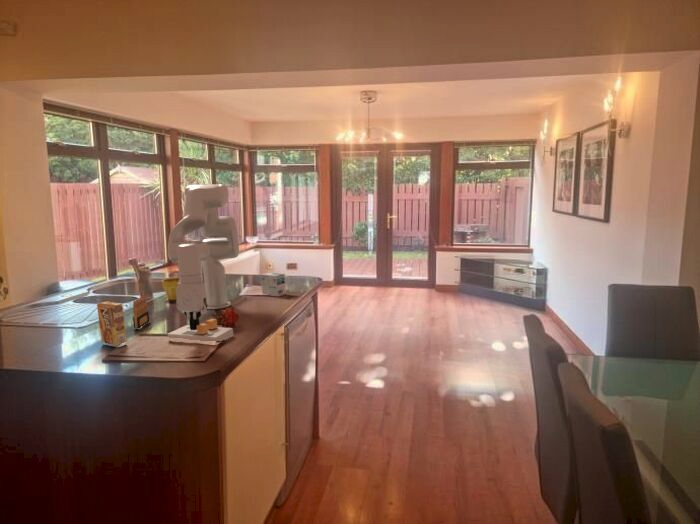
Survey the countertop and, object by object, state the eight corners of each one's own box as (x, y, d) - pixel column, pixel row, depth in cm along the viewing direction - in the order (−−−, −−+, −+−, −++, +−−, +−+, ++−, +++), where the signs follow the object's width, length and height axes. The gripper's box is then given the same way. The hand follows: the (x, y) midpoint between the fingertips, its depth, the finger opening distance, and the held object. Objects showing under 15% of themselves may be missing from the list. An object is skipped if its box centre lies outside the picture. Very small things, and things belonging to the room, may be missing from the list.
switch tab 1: (197, 333, 169) (196, 325, 169) (202, 331, 172) (201, 323, 172) (203, 334, 169) (202, 326, 168) (208, 331, 171) (207, 323, 171)
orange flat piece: (138, 330, 188) (135, 300, 186) (134, 330, 188) (130, 300, 186) (149, 322, 199) (147, 294, 197) (145, 322, 199) (142, 294, 197)
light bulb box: (286, 294, 243) (285, 273, 241) (277, 297, 238) (276, 275, 236) (270, 292, 249) (269, 271, 247) (261, 295, 243) (260, 274, 241)
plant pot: (181, 300, 236) (179, 281, 235) (160, 301, 236) (158, 281, 235) (188, 295, 246) (186, 277, 245) (168, 296, 247) (166, 277, 245)
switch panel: (168, 341, 172) (167, 333, 172) (187, 332, 183) (186, 324, 182) (216, 345, 166) (215, 337, 166) (233, 336, 177) (232, 327, 176)
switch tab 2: (207, 328, 175) (206, 321, 174) (211, 326, 178) (211, 318, 177) (212, 329, 174) (212, 321, 174) (217, 326, 177) (216, 319, 177)
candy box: (127, 345, 170) (123, 303, 168) (117, 348, 167) (112, 306, 164) (111, 341, 175) (107, 300, 172) (101, 345, 171) (96, 303, 168)
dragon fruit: (218, 336, 183) (233, 331, 194) (235, 323, 181) (248, 319, 193) (206, 317, 184) (221, 313, 195) (222, 304, 182) (237, 301, 194)
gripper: (165, 280, 167) (170, 331, 170) (202, 281, 162) (206, 333, 165) (179, 276, 174) (184, 325, 177) (215, 277, 169) (219, 327, 172)
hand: (195, 329), depth 171 cm, fingers closed
